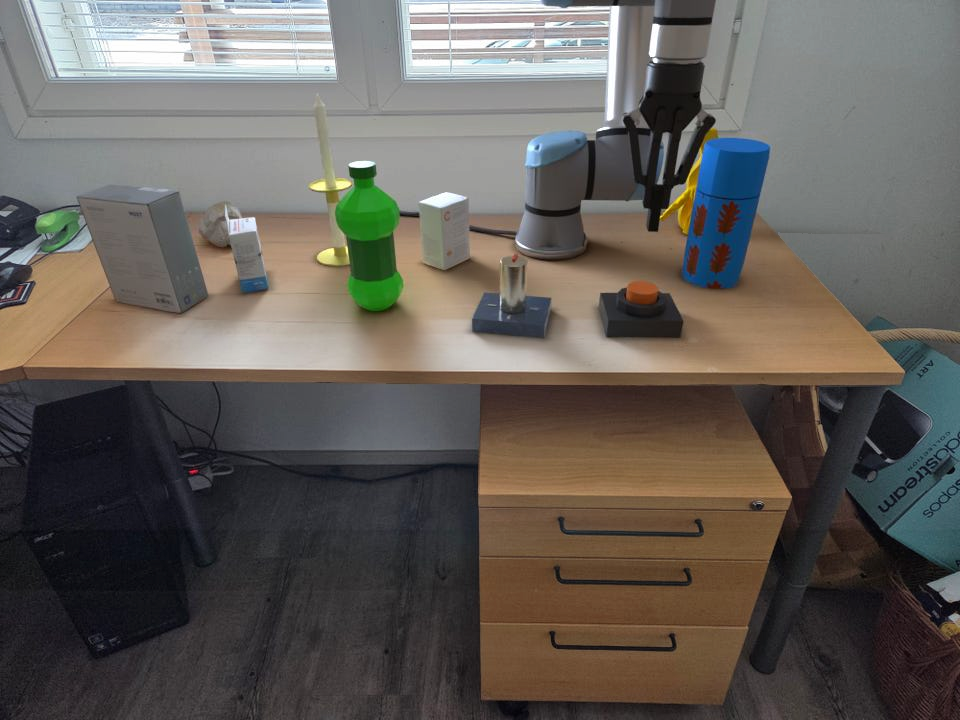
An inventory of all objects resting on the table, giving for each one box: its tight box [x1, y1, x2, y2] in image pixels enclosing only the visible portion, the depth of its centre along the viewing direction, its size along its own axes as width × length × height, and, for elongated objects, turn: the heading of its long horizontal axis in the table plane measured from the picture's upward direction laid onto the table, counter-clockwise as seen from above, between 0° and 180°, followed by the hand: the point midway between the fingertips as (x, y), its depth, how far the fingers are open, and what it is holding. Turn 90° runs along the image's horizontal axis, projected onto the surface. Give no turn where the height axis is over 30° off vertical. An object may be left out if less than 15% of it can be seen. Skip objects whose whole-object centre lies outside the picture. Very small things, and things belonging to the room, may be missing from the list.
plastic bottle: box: [335, 160, 404, 312], centre depth 104 cm, size 10×10×25 cm
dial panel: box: [471, 291, 552, 339], centre depth 105 cm, size 12×10×3 cm
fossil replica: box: [198, 200, 243, 248], centre depth 135 cm, size 12×8×10 cm
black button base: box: [598, 286, 685, 339], centre depth 103 cm, size 12×10×5 cm
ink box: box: [225, 205, 269, 294], centre depth 115 cm, size 8×5×15 cm, turn 20°
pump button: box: [626, 280, 660, 304], centre depth 101 cm, size 5×5×2 cm
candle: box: [308, 90, 353, 267], centre depth 121 cm, size 10×10×32 cm
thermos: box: [681, 137, 771, 290], centre depth 112 cm, size 11×11×25 cm
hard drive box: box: [76, 184, 209, 314], centre depth 108 cm, size 16×8×20 cm, turn 71°
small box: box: [418, 191, 471, 271], centre depth 123 cm, size 8×6×13 cm
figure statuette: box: [660, 127, 719, 236], centre depth 134 cm, size 18×8×22 cm, turn 86°
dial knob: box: [499, 253, 528, 313], centre depth 101 cm, size 4×4×9 cm
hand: (651, 228), depth 95 cm, fingers closed
